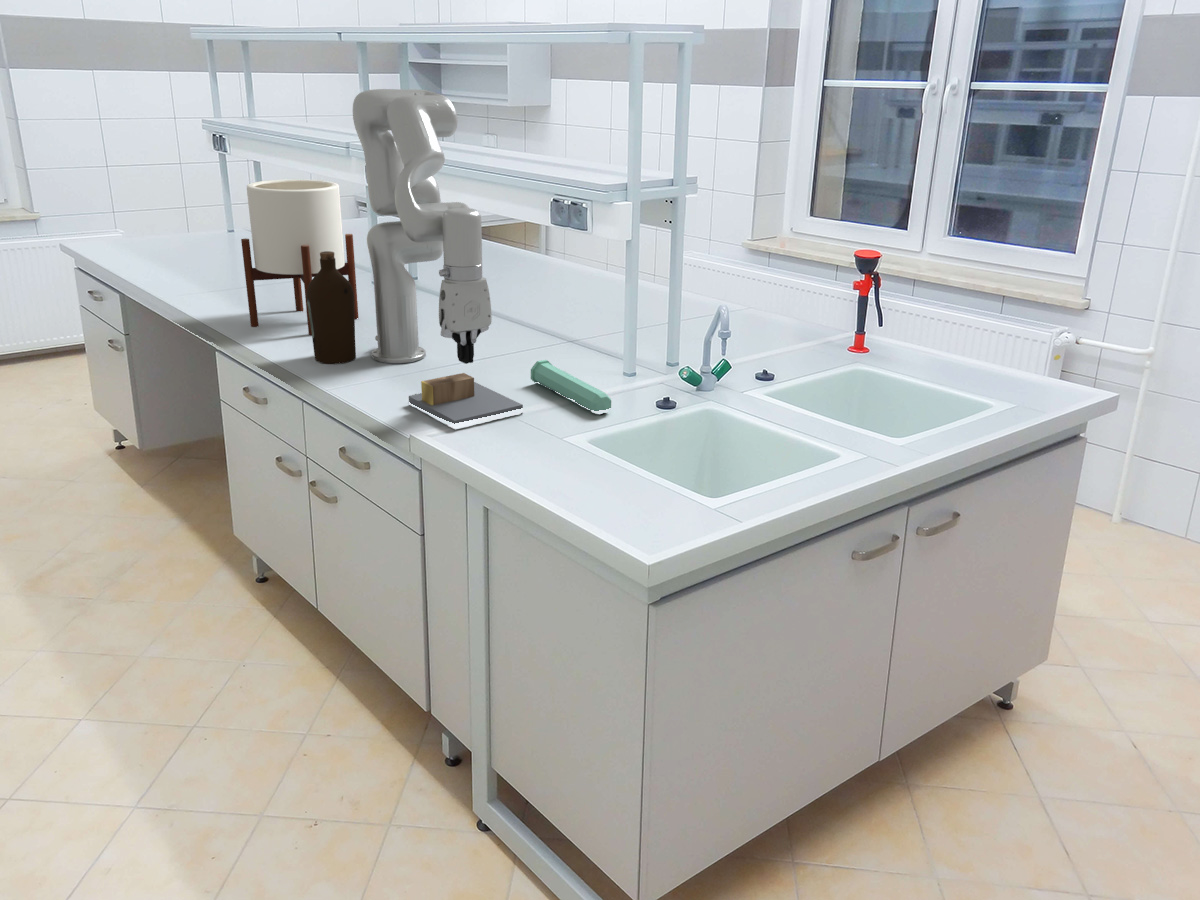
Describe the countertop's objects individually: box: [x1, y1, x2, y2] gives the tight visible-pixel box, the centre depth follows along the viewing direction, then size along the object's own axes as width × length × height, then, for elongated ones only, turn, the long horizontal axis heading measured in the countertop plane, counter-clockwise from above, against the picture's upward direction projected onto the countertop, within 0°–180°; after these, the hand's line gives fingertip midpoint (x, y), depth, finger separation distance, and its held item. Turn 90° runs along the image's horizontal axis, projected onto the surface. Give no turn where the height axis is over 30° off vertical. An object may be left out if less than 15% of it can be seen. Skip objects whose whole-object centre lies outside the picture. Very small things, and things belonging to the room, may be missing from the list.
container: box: [530, 359, 612, 411], centre depth 207 cm, size 6×6×25 cm
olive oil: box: [307, 251, 357, 365], centre depth 226 cm, size 11×11×25 cm
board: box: [408, 381, 524, 424], centre depth 200 cm, size 18×16×2 cm
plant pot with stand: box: [240, 178, 359, 337], centre depth 253 cm, size 22×22×36 cm
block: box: [420, 372, 475, 405], centre depth 199 cm, size 4×4×10 cm
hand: (465, 361), depth 200 cm, fingers closed
